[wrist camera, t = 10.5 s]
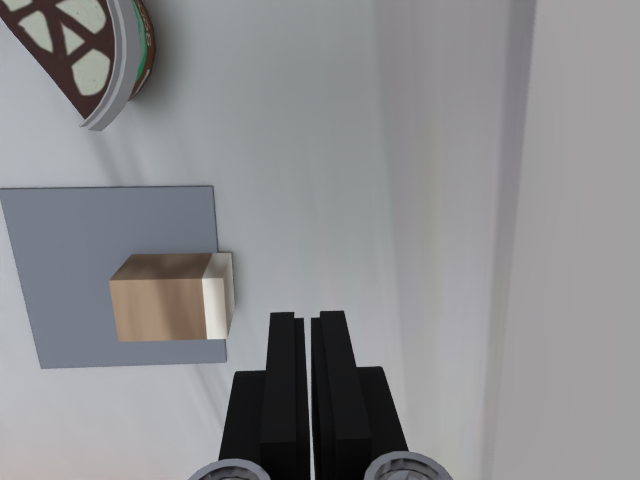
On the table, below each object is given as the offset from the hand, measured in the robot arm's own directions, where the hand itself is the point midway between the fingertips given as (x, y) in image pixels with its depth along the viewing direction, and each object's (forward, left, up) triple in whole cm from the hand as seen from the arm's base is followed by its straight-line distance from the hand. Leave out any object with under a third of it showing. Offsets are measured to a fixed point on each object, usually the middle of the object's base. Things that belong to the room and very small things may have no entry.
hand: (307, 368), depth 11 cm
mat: (+14, +10, -27) cm, 32 cm away
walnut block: (+5, +10, -24) cm, 27 cm away
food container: (+12, -10, -27) cm, 31 cm away
